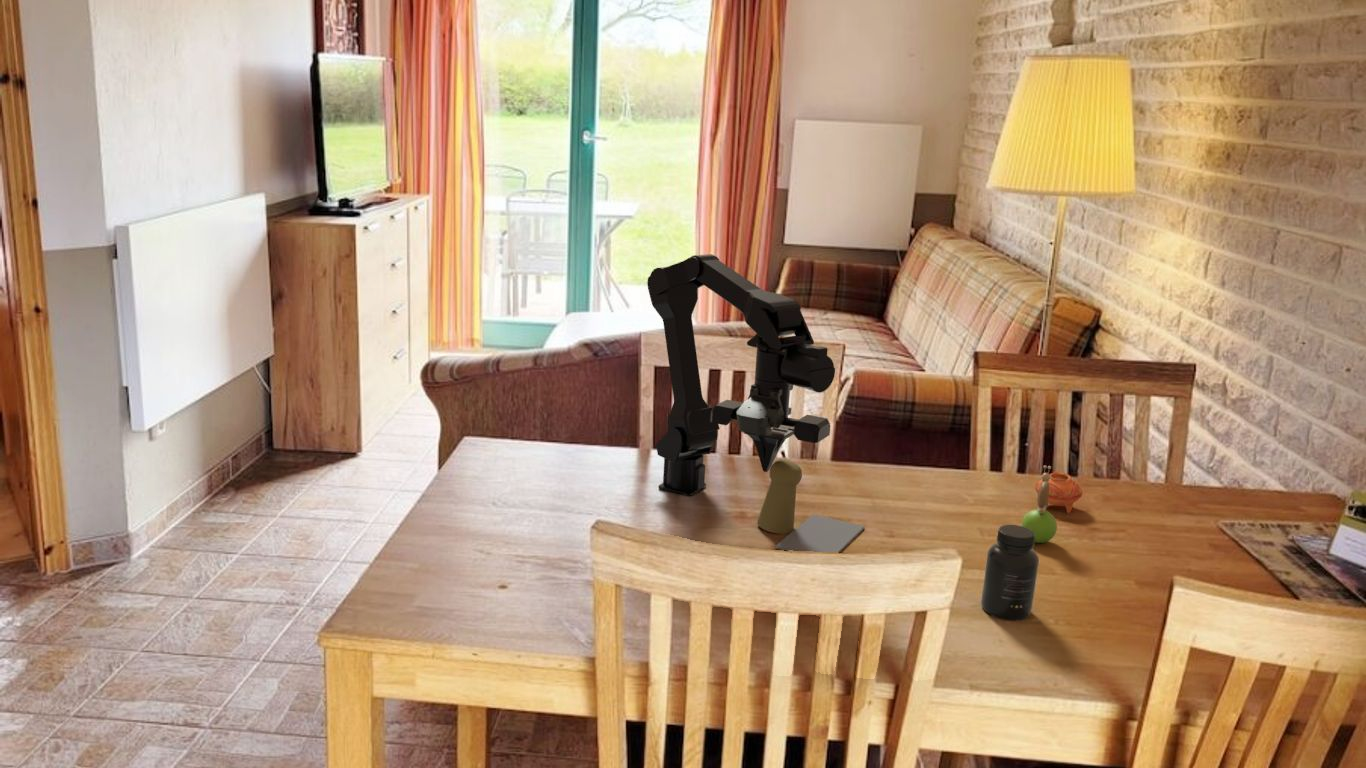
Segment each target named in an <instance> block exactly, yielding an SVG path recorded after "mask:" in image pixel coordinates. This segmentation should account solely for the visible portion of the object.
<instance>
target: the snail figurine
mask: <svg viewBox="0 0 1366 768" xmlns="http://www.w3.org/2000/svg"><path fill="white" fill-rule="evenodd" d="M1046 469H1048V470H1051V469H1052V466H1051V465H1048V466H1047V465H1043V470H1044V472H1043V473H1042V475H1041V479H1042V482H1041V485H1040V487H1039V491H1038V493H1037V499H1036V502H1037V508H1035V509H1032V510H1030V511H1028V512H1027V513H1026V514H1025V515H1024V516H1023V518H1022V521H1021V526H1023V527H1026V528H1028V529H1030V530H1032V531H1033V532H1034V534H1035V537H1034V543H1037V544H1042V543H1046V542H1048V541H1049V542H1050V540H1052V539H1053V538H1054V537H1055V536H1056V533H1057V530H1058V523H1057V521H1056V518H1055V516H1054V515H1053V514H1052V513H1051V512H1049V511H1048V510H1047V507H1048V505H1049V503H1048V498H1049V479H1050V471H1048V472H1046Z"/></svg>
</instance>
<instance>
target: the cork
mask: <svg viewBox="0 0 1366 768" xmlns="http://www.w3.org/2000/svg"><path fill="white" fill-rule="evenodd" d="M802 476H803V471H802V468H801V466H800V465H799V464H797V463H795V462H794V461H790V460H786V459H785V460H776V461H773V463H772V465H771V467H770V469H769V478H770V483H769V486H768V489H767V492H766V495H765V497H764V501H763V503H762V506H761V510H760V511H759V512H760V513H759V515H758V517H757V520H756V521H757V522H756V523H757V526H758V527H759V528H761V529H762V530H764V531H767V532H770V533H773V534H779V535H787V534H790V533H792V532H793V531H794V530H795V529H794V528H795V512H796V511H795V509H796V495H797V485H799V483H800V482H801V480H802V478H803V477H802Z"/></svg>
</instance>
